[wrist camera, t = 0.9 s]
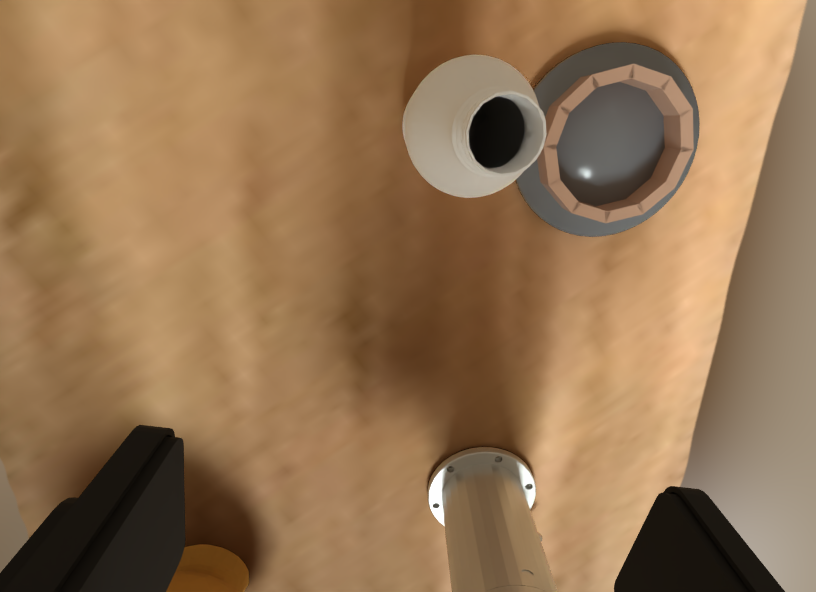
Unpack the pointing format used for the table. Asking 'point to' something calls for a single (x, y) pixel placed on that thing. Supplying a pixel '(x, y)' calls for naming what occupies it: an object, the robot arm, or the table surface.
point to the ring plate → (611, 139)
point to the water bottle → (473, 126)
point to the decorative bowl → (209, 571)
